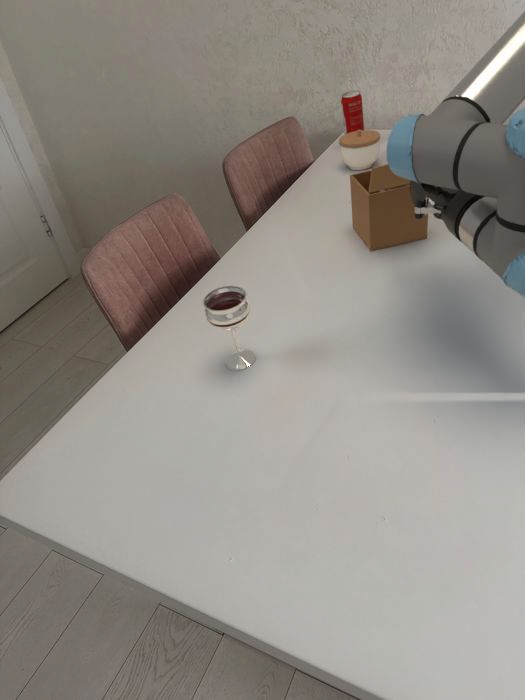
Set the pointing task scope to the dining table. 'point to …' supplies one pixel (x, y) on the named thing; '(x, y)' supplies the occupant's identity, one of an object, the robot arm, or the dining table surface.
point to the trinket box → (360, 148)
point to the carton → (384, 214)
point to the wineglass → (230, 319)
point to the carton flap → (385, 179)
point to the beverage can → (352, 111)
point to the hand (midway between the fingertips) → (413, 165)
